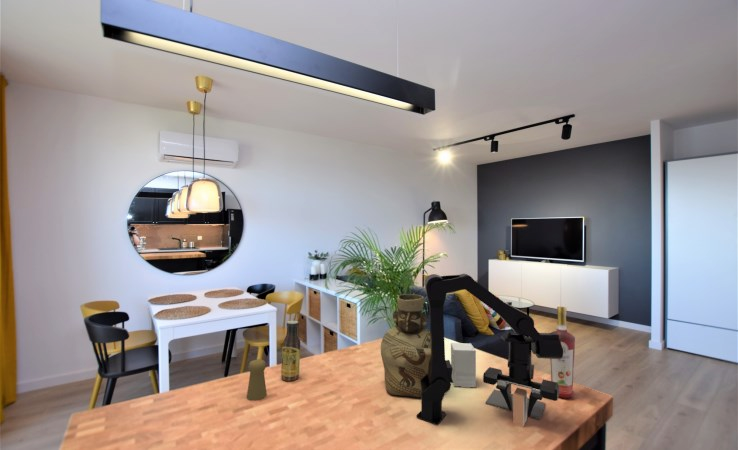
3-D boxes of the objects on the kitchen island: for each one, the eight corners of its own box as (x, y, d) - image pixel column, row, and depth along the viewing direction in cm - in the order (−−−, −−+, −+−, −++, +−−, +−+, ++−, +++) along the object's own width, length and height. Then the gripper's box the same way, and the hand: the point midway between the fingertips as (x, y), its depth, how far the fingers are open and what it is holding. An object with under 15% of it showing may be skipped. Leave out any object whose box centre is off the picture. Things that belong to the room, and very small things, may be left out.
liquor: (575, 393, 110) (575, 306, 111) (574, 403, 104) (574, 311, 104) (550, 387, 114) (550, 304, 115) (547, 396, 108) (547, 308, 108)
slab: (523, 427, 91) (523, 397, 91) (513, 424, 92) (513, 394, 93) (527, 418, 95) (527, 390, 95) (517, 415, 97) (517, 387, 97)
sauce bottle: (278, 381, 117) (278, 323, 118) (285, 373, 124) (286, 319, 124) (295, 382, 116) (296, 324, 117) (302, 375, 122) (303, 319, 123)
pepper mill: (260, 401, 103) (261, 365, 104) (242, 399, 105) (243, 363, 105) (270, 392, 109) (270, 358, 110) (253, 390, 111) (253, 356, 111)
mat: (540, 419, 95) (540, 417, 95) (485, 403, 103) (485, 401, 103) (545, 404, 103) (545, 402, 103) (494, 391, 111) (494, 389, 111)
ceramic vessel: (420, 409, 100) (421, 307, 100) (368, 386, 114) (369, 297, 114) (453, 387, 113) (453, 297, 114) (402, 369, 128) (403, 290, 128)
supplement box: (471, 378, 121) (471, 343, 121) (476, 388, 113) (476, 350, 113) (450, 377, 121) (450, 342, 122) (453, 387, 114) (453, 349, 114)
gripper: (561, 355, 95) (561, 411, 95) (493, 342, 106) (493, 393, 106) (557, 368, 86) (557, 430, 86) (482, 353, 97) (482, 408, 97)
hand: (519, 413), depth 94 cm, fingers open, 4 cm apart
